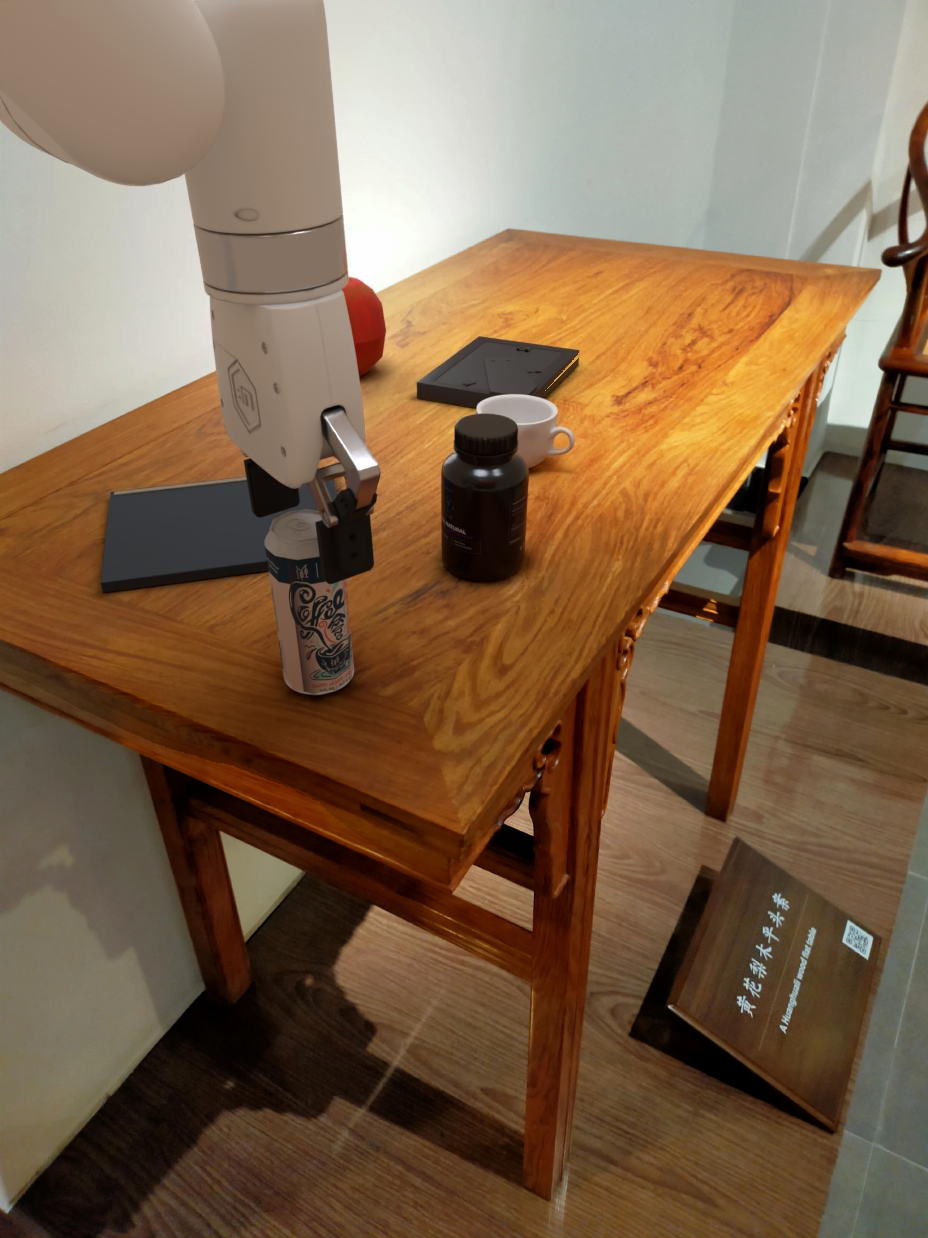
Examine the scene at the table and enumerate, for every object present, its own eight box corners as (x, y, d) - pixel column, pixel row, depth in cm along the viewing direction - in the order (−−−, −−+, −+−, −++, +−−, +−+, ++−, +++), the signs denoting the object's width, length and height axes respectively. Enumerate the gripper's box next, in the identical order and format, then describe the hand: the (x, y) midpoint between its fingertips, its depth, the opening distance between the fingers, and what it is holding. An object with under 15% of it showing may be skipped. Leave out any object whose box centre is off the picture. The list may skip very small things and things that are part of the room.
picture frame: (526, 417, 102) (578, 365, 115) (527, 397, 100) (579, 347, 114) (416, 398, 106) (478, 350, 120) (416, 379, 105) (478, 332, 118)
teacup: (461, 466, 92) (461, 414, 89) (498, 438, 97) (499, 388, 94) (555, 489, 88) (558, 435, 84) (587, 458, 93) (591, 407, 90)
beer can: (320, 710, 62) (301, 552, 55) (269, 682, 64) (245, 528, 57) (369, 674, 65) (357, 520, 58) (319, 649, 67) (302, 499, 60)
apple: (342, 351, 119) (335, 257, 113) (406, 367, 115) (402, 269, 108) (287, 375, 112) (276, 275, 106) (352, 392, 108) (345, 289, 101)
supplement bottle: (430, 576, 75) (426, 436, 68) (456, 535, 80) (455, 402, 74) (513, 590, 73) (518, 448, 67) (534, 547, 79) (540, 412, 72)
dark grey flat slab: (102, 593, 73) (99, 581, 73) (112, 500, 86) (109, 490, 85) (356, 559, 77) (355, 548, 77) (330, 476, 90) (329, 465, 89)
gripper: (146, 234, 53) (201, 504, 63) (280, 310, 41) (321, 627, 51) (269, 215, 56) (302, 474, 66) (424, 279, 44) (437, 583, 54)
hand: (310, 540), depth 58 cm, fingers open, 9 cm apart
